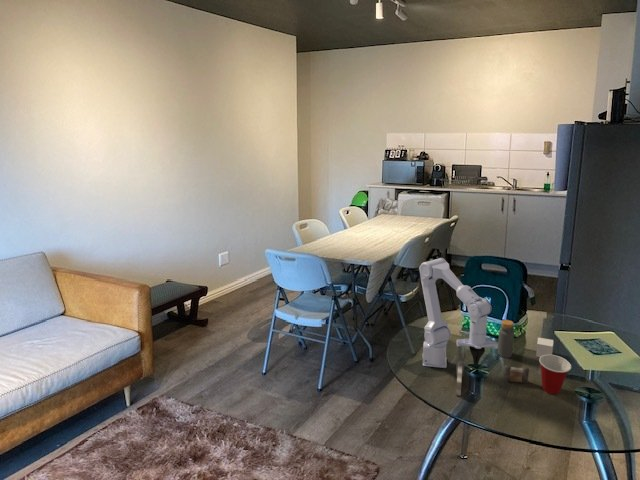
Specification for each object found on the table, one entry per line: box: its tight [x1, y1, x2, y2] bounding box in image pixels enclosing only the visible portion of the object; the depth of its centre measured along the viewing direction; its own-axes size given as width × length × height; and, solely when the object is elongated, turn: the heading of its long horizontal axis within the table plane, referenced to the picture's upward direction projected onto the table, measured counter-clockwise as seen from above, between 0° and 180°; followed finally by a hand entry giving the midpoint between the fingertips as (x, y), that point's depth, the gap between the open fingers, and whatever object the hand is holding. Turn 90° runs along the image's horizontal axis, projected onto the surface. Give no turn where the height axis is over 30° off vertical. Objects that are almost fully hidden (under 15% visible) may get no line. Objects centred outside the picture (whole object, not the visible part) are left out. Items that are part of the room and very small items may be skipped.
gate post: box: [455, 359, 465, 377], centre depth 195 cm, size 3×3×6 cm
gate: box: [455, 366, 463, 396], centre depth 187 cm, size 13×2×5 cm, turn 163°
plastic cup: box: [538, 354, 572, 395], centre depth 182 cm, size 11×11×12 cm
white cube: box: [535, 337, 554, 358], centre depth 208 cm, size 6×6×6 cm
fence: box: [502, 364, 530, 385], centre depth 190 cm, size 9×2×6 cm, turn 76°
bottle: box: [497, 319, 515, 359], centre depth 207 cm, size 6×6×15 cm
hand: (475, 363), depth 186 cm, fingers closed
